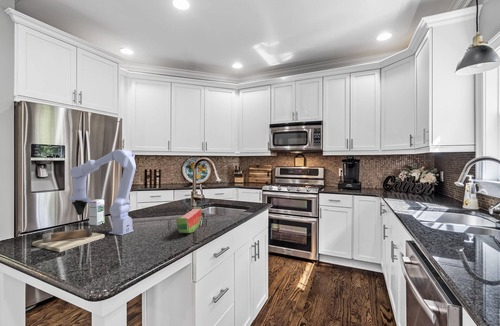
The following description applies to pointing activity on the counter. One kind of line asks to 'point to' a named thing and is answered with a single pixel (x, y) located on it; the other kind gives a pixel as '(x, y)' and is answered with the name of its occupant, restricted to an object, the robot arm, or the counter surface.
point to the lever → (67, 234)
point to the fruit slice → (189, 221)
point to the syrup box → (96, 212)
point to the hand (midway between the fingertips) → (80, 214)
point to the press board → (67, 242)
